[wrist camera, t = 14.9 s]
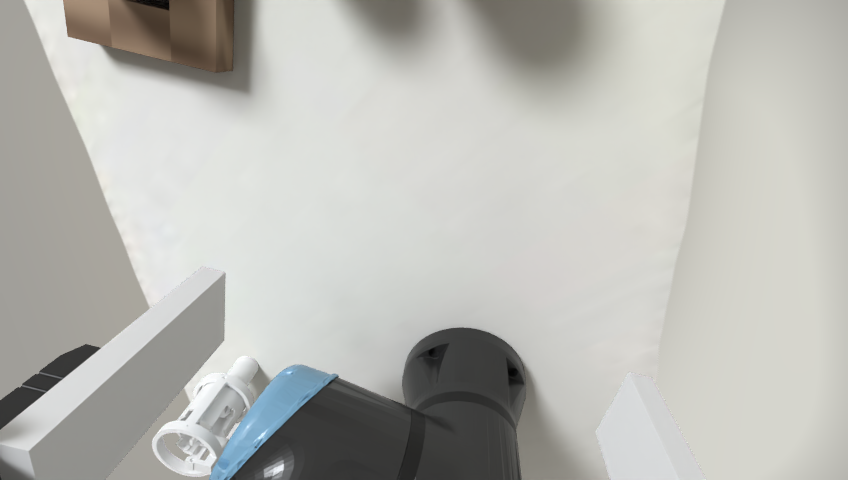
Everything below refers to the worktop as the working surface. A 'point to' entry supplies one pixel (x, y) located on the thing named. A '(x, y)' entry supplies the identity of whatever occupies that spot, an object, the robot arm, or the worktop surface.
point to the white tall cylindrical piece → (209, 419)
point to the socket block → (159, 29)
